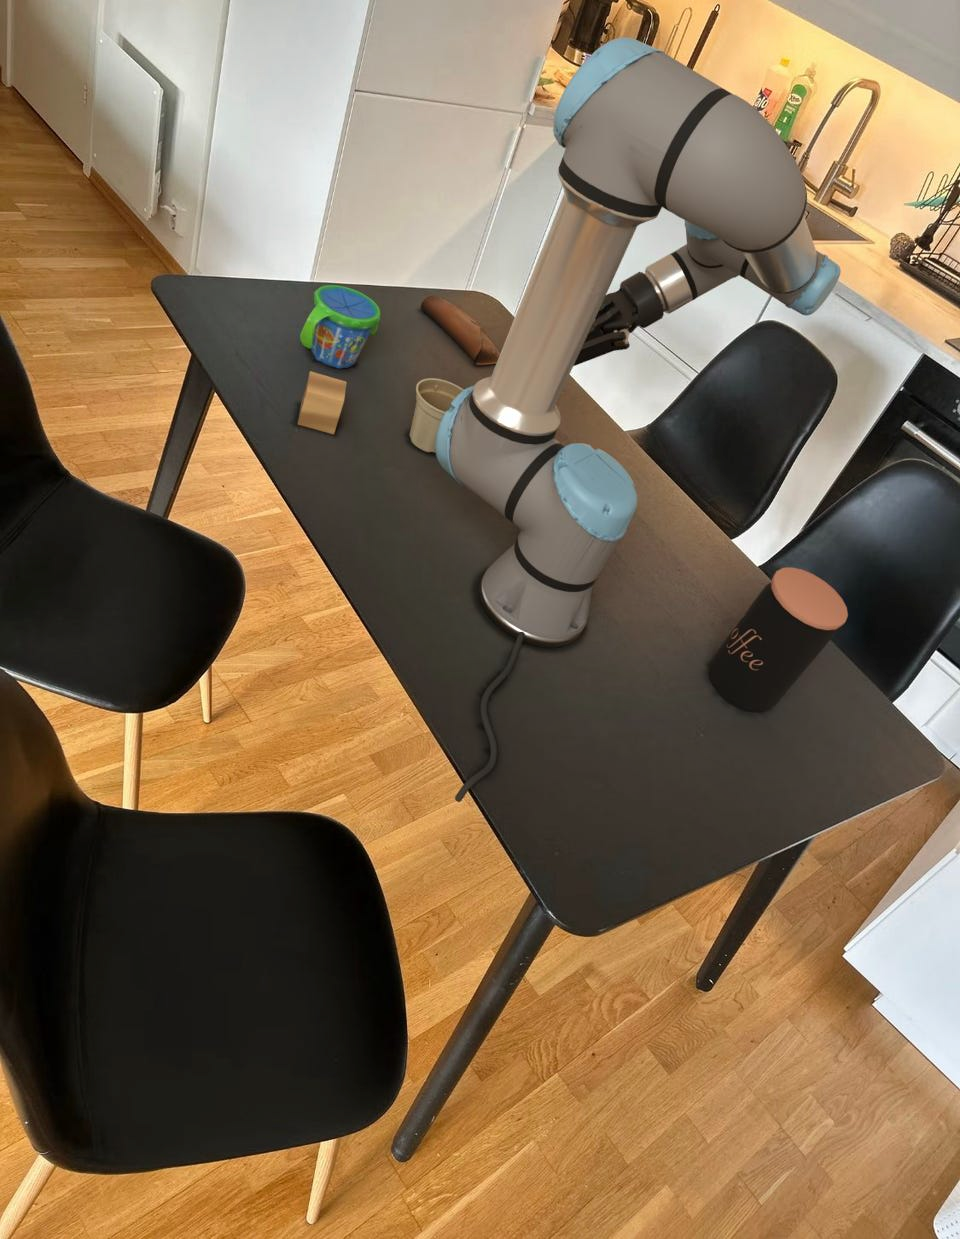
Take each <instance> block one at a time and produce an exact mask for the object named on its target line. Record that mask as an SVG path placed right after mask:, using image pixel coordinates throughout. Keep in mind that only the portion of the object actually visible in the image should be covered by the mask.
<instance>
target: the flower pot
mask: <svg viewBox="0 0 960 1239" xmlns="http://www.w3.org/2000/svg"><path fill="white" fill-rule="evenodd" d="M463 390H464V388H462V387H460V386H459V385H457V384H455V383H453V382H450V381H448V380H445V379H441V378H434V377H433V378H431V377H428V378H424V379H421V380H419V381H418V382H417V383H416V385H415V393H416V394H415V400H416V403H415V408H414V412H413V417H412V421H411V427H410V430H409V437H410V441H411V443H412V444H413V445H414V446H415V447H416V448H418V449H420V450H421V451H423V452H425V453H435V454H436V451H435V442H436V435H437V431H438V428H439V425H440V422H441V420H442V418H443V415H444V414H445V412H446V411H448V410H449V409H450V407H451V403H452V401H453V400H454V399H455V398H456V397H457V395H458V394H460V393H461V392H462V391H463Z"/></svg>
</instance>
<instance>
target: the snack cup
mask: <svg viewBox="0 0 960 1239" xmlns="http://www.w3.org/2000/svg"><path fill="white" fill-rule="evenodd" d="M313 297H314V299H313V301H314V308H313V309H312V311H310V313H309V315H308V317H307V318H306V321H305V322H304V325H303V327H302V330H301V332H300V334H299V339H300V342H301V343H302V345H303V346H304V347H305V348H307V349H311V354H313V356H314V357H315V360H316V361H318V362H321V363H323V364H324V365H326V366H329V367H332V368H335V369H338V370H341V369H348V368H350V367H352V366H354V365H355V364H356V362H357V361H358V359H359V357H360V355H361V352H362V350H363V349H364V347H365V344H366V342H367V340H368V338H369V336H375V335H376V333H377V331H378V328H379V322H380V320H381V309H380V306H378V304H377V303H376V302H375V301H374V300H373V299H372V298H370V297H369V296H367V295H366V294H364V293H362V292H360V291H358V290H356V289H353V288H351V287H347V286H343V285H338V284H337V285H336V284H326V285H322V286H320V287H318V288H317V289H316V290H315V291H314V293H313Z"/></svg>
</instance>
